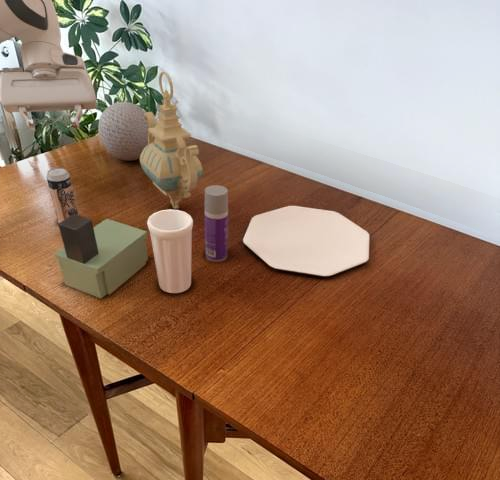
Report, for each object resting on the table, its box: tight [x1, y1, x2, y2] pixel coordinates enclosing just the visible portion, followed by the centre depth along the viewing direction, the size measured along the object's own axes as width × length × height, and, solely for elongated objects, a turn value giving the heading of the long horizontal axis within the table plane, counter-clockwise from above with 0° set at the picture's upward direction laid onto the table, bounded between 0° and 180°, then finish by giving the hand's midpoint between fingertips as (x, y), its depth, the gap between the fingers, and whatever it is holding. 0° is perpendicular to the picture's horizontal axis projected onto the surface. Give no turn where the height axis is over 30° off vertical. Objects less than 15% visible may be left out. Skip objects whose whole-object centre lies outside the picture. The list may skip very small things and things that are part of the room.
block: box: [58, 214, 99, 264], centre depth 83 cm, size 4×4×7 cm
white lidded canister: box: [46, 167, 80, 224], centre depth 103 cm, size 5×5×12 cm
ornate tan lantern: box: [139, 71, 204, 210], centre depth 103 cm, size 24×12×30 cm, turn 33°
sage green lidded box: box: [53, 218, 149, 299], centre depth 91 cm, size 10×15×7 cm, turn 154°
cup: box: [146, 208, 194, 294], centre depth 86 cm, size 8×8×14 cm
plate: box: [242, 205, 371, 278], centre depth 104 cm, size 28×28×2 cm
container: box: [204, 184, 229, 263], centre depth 94 cm, size 5×5×15 cm
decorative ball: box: [97, 101, 149, 162], centre depth 129 cm, size 15×15×15 cm
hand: (54, 128), depth 104 cm, fingers open, 8 cm apart
